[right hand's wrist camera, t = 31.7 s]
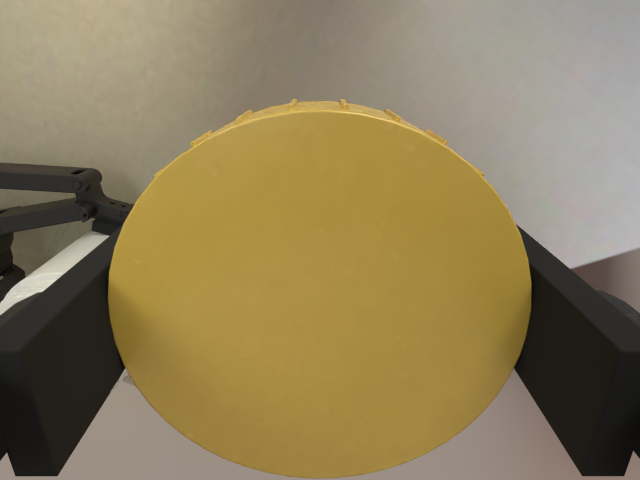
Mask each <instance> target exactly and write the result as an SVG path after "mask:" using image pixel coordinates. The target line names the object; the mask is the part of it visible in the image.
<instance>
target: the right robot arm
mask: <svg viewBox="0 0 640 480" xmlns="http://www.w3.org/2000/svg"><path fill="white" fill-rule="evenodd" d="M516 226H517V228H518V230H519V232H520V234H521V237H522V241H523V244H524V247H525V250H526V254H527V257H528V262H529V269H530V276H531V283H532V292H531V313H530V318H529V323H528V329H527V333H526V338H525V341H524V344H523V348H522V351H521V354H520V356H519V358H518V360H517V362H516V364H515V367H514V369H515V370H516V372H517V373H518V375H519V377H520V378H521V380H522V381H523V383H524V385H525V386H526V388H527V389H528V391H529V393H530V394H531V396H532V397H533V399H534V400H535V402H536V404H537V405H538V407H539V408H540V410H541V411H542V413H543V415H544V416H545V418H546V419H547V421H548V423H549V424H550V426H551V427H552V429H553V430H554V432H555V433H556V435H557V437H558V438H559V440H560V441H561V443H562V445H563V446H564V448H565V449H566V451H567V453H568V454H569V456H570V457H571V459H572V461H573V462H574V464H575V465H576V467H577V468H578V470H579V472H580V473H581V475H582V476H624V475H625V472H626V469H627V466H628V464H629V461H630V458H631V455H632V452H633V451H634V452H635V453H636V454H637V456H638V457H639V458H640V313H638V312H637V311H636V310H635V309H633V308H632V307H631V306H630V305H628V304H627V303H626V302H624V301H622V300H620V299H618V298H616V297H614V296H612V295H610V294H608V293H606V292H604V291H596V290H595V289H593V288H592V287H591V286H590V285H589V284H587V283H586V282H585V281H584V280H583V279H581V278H580V277H579V276H578V275H577V274H575V273H574V272H573V271H572V270H570V269H569V268H568V267H567V266H566V265H564V264H563V263H562V262H561V261H560V260H558V259H557V258H556V257H555V256H554V255H552V254H551V253H550V252H549V251H548V250H546V249H545V248H544V247H543V246H542V245H540V244H539V243H538V242H537V241H536V240H534V239H533V238H532V237H531V236H530V235H528V234H527V233H526V232H525V231H524V230H522V229H521V228H520V227H519V226H518V225H516ZM122 227H123V225H122V226H121V227H120V228H119V229H117V230H116V231H115V232H114V233H113V234H111V235H110V236H109V237H108V238H106V239H105V240H104V241H103V242H102V243H100V244H99V245H98V246H97V247H96V248H94V249H93V250H92V251H91V252H90V253H88V254H87V255H86V256H85V257H84V258H82V259H81V260H80V261H79V262H78V263H76V264H75V265H74V266H73V267H72V268H70V269H69V270H68V271H67V272H66V273H64V274H63V275H62V276H61V277H60V278H58V279H57V280H56V281H55V282H54V283H52V284H51V285H50V286H49V287H48V288H46V289H45V290H44V291H43V292H37V293H35V294H33V295H31V296H29V297H27V298H25V299H23V300H21V301H19V302H17V303H15V304H14V305H13V306H11V307H10V308H9V309H8V310H6V311H5V312H4V313H2V314H1V315H0V460H1V459H2V458H3V456H4V455H5V454H6V453H8V456H9V459H10V462H11V465H12V467H13V470H14V473H15V476H58V474H59V473H60V471H61V470H62V468H63V466H64V465H65V463H66V462H67V460H68V458H69V457H70V455H71V454H72V452H73V451H74V449H75V447H76V446H77V444H78V443H79V441H80V439H81V438H82V436H83V435H84V433H85V432H86V430H87V428H88V427H89V425H90V424H91V422H92V420H93V419H94V417H95V416H96V414H97V413H98V411H99V409H100V408H101V406H102V405H103V403H104V402H105V400H106V398H107V397H108V395H109V394H110V392H111V390H112V389H113V387H114V386H115V384H116V383H117V381H118V379H119V378H120V376H121V375H122V373H123V372H124V370H125V366H124V364H123V361H122V359H121V356H120V354H119V352H118V349H117V347H116V344H115V340H114V335H113V330H112V326H111V321H110V315H109V306H108V283H109V270H110V266H111V261H112V257H113V252H114V247H115V245H116V242H117V240H118V237H119V234H120V232H121V229H122Z"/></svg>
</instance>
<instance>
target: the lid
mask: <svg viewBox="0 0 640 480" xmlns="http://www.w3.org/2000/svg"><path fill="white" fill-rule="evenodd" d="M446 143H447V141H446V140H444V139H443V138H441V137H440V136H438V135H436V134H435V133H433V132H432V131H430V130H428V129H426V131H423V130H421V129H419V128H418V127H416V126H414V125H412V124H411V123H409V122H407V121H405V120H403V119H401V117H399V116H398V115H396V114H395V113H394V112H392V111H391V110H389V109H386V110H385V112H383V111H381V110H378V109H374V108H369V107H365V106H361V105H357V104H353V103H347V102H346V101H345V99H341V98H340V102H333V101H307V102H297V99H292V101H291V102H290V103H289V104H284V105H278V106H272V107H269V108H266V109H263V110H260V111H257V112H254V113H252V110H248V111H246V112H245V113H243V114H242V115H241V116H239V117H238V118H236V120H235V121H233V122H231V123H229V124H227V125H225V126H223V127H222V128H220V129H219V130H217V131H216V132H214V133H212V131H211V130H210V131H208V132H207V133H205V134H203V135H202V136H200V137H199V138H197V139H195V140H194V141H192V142H191V143H190V145H191V146H192V148H190V149H189V150H187V151H186V152H184V153H183V154H181V155H180V156H178V157H177V158H176V159H175V160H174V161H173V162H172V163H171V164H169V165H168V166H166V167H165V168H163V169H162V170H160V171H159V172H158V173H156V174H155V175H154V176H153V177H154V180H153V181H152V182H151V183H150V185H149V186H148V187H147V188H146V190H145V191H144V192H143V193H142V195H141V196H140V197H139V198H138V200H137V201H136V203H135V205H134V206H133V208H132V210H131V212H130V213H129V215H128V217H127V219H126V220H125V222H124V224H123V227H122V229H121V232H120V234H119V237H118V240H117V242H116V245H115V247H114V252H113V257H112V261H111V266H110V270H109V283H108V306H109V315H110V321H111V326H112V330H113V335H114V340H115V344H116V347H117V349H118V352H119V354H120V356H121V359H122V361H123V364H124V366H125V368H126V370H127V372H128V373H129V375H130V377H131V378H132V380H133V382H134V384H135V385H136V387H137V388H138V390H139V391H140V392H141V394H142V395H143V396H144V397H145V399H146V400H147V401H148V403H149V404H150V405H151V406H152V407H153V408H154V409H155V410H156V411H157V412H158V413H159V414H160V416H161V417H162V418H163V419H164V420H165V421H166V422H168V423H169V424H170V425H171V426H173V427H174V428H175V429H176V430H177V431H179V432H180V433H181V434H182V435H184V436H185V437H187V438H188V439H190V440H191V441H193V442H194V443H196V444H198V445H199V446H201V447H202V448H204V449H206V450H208V451H210V452H212V453H214V454H216V455H218V456H220V457H222V458H224V459H227V460H229V461H232V462H234V463H237V464H240V465H242V466H245V467H248V468H252V469H256V470H259V471H263V472H267V473H272V474H278V475H284V476H290V477H303V478H339V477H348V476H356V475H363V474H367V473H372V472H376V471H381V470H385V469H388V468H391V467H394V466H397V465H400V464H403V463H406V462H408V461H410V460H413V459H415V458H417V457H420V456H422V455H424V454H426V453H428V452H430V451H432V450H433V449H435V448H437V447H439V446H440V445H442V444H444V443H446V442H447V441H449V440H450V439H451V438H453V437H454V436H455V435H457V434H458V433H460V432H461V431H462V430H464V429H465V428H466V427H467V426H468V425H469V424H470V423H472V422H473V421H474V420H475V419H476V418H477V417H478V416H479V415H480V414H481V413H482V412H483V411H484V410H485V409H486V408H487V407H488V405H489V404H490V403H491V402H492V401H493V400H494V398H495V397H496V396H497V395H498V393H499V392H500V390H501V389H502V387H503V386H504V384H505V383H506V381H507V380H508V378H509V377H510V375H511V373H512V371H513V369H514V367H515V364H516V362H517V360H518V358H519V356H520V354H521V351H522V348H523V344H524V341H525V338H526V333H527V329H528V323H529V318H530V313H531V292H532V283H531V276H530V269H529V262H528V257H527V254H526V250H525V247H524V244H523V241H522V237H521V234H520V232H519V230H518V228H517V226H516V224H515V222H514V220H513V218H512V216H511V214H510V212H509V210H508V208H507V207H506V205H505V204H504V203H503V201H502V200H501V198H500V197H499V195H498V194H497V192H496V191H495V190H494V188H493V187H492V186H491V185H490V184H489V183H488V182H487V181H486V180H485V178H484V177H483V176H484V173H483V172H482V171H480V170H479V169H477V168H476V167H474V166H473V165H471V164H470V163H469V162H467V161H466V160H464V159H463V158H462V157H460V156H459V155H458V154H457V153H455V152H454V151H453V150H451V149H450V148H449V147H447V146H446Z"/></svg>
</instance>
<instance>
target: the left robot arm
mask: <svg viewBox="0 0 640 480" xmlns="http://www.w3.org/2000/svg"><path fill="white" fill-rule="evenodd" d="M101 181H102V175H101V173H100V172H99V171H98V170H96V169H93V168H77V167H61V166H45V165H29V164H12V163H0V189H16V190H33V191H49V192H66V193H75V194H76V198H70V199H65V200H59V201H53V202H48V203H42V204H37V205H31V206H25V207H21V206H19V207H13V208H7V209H2V210H0V276H3V277H4V278H3V279H1V280H0V303H1V301H3V300H4V298H5V296H6V295H7V293H8V292H9V291H10V290H11V289H12V288H13V287H14V286H15V285H16V284H18V283H19V282H20V281H22V280H23V279H24V278H26V276H25V272H24V270H22V269H21V268H19V267H18V266H16V265H15V264H13V256H12V252H11V248H10V247H11V244H12V241H13V232H17V231H23V230H28V229H34V228H40V227H45V226H51V225H57V224H63V223H68V222H74V221H80V220H83V221H82V222H85V221H87V220H88V219H90V218H95V219H96V220H94V221H93V223H92V231H93V232H97V233H101V234H105V235H109V236H110V235H111V234H113V233H114V232H115V231H116V230H117V229H119V228H120V227H121V226H122V225H123V224H124V222H125V220H126V219H127V217H128V215H129V213H130V212H131V210H132V208H133V206H134V205H132V204H128V203H124V202H121V201H117V200H113V199H110V198H108V197H106V196H105V195H104V193H103V191H102V188H101V184H100V182H101Z"/></svg>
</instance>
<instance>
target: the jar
mask: <svg viewBox="0 0 640 480" xmlns="http://www.w3.org/2000/svg"><path fill="white" fill-rule="evenodd" d="M108 237H109V235H105V234H101V233H97V232H93V231H92V229H91V230H90V231H88V232H87V233H86V234H84V235H83V236H81V237H80V238H79V239H77V240H76V241H75V242H73V243H72V244H71V245H69V246H68V247H66V248H65V249H64V250H62V251H61V252H60V253H58V254H57V255H56V256H54V257H53V258H51V259H50V260H49V261H47V262H46V263H45V264H43V265H42V266H41V267H39V268H38V269H37V270H35V271H34V272H32V273H31V274H30V275H28V276H27V277H26V278H24V279H23V280H22V281H20V282H19V283H18V284H16V285H15V286H14V287H13V288H12V289H11V290H10V291H9V292H8V293H7V295H6V296H5V298H4V300H3V301H1V303H0V315H1V314H2V313H4V312H5V311H6V310H8V309H9V308H10V307H11V306H13V305H14V304H15V303H17V302H19V301H21V300H23V299H25V298H27V297H29V296H31V295H33V294H35V293H37V292H43V291H44V290H45V289H46V288H48V287H49V286H50V285H51V284H52V283H54V282H55V281H56V280H57V279H58V278H60V277H61V276H62V275H63V274H64V273H66V272H67V271H68V270H69V269H70V268H72V267H73V266H74V265H75V264H76V263H78V262H79V261H80V260H81V259H82V258H84V257H85V256H86V255H87V254H88V253H90V252H91V251H92V250H93V249H94V248H96V247H97V246H98V245H99V244H100V243H102V242H103V241H104V240H105V239H106V238H108ZM128 374H129V373H128V372H127V370H126V368H125V370H124V372H123V373H122V375H121V376H120V378H119V379H118V381H117V383H116V384H115V386H114V387H113V389H114V388H115V387H116V386H117V385H118V384H119V383H120V382H121V380H122V379H124V378H125V377H126V376H127V375H128ZM113 389H112V390H111V392H112V391H113Z"/></svg>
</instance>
